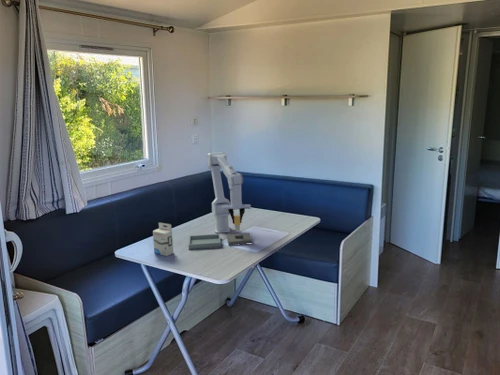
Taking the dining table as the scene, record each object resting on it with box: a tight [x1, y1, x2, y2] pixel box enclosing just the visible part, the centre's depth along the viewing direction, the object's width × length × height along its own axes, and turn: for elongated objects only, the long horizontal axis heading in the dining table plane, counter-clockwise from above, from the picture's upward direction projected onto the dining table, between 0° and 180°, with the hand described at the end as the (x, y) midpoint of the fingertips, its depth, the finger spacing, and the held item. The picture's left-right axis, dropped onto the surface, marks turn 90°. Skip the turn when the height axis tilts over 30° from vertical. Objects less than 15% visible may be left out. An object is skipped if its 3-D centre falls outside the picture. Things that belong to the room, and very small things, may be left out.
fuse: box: [233, 214, 241, 231], centre depth 228 cm, size 4×3×7 cm
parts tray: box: [188, 233, 222, 250], centre depth 227 cm, size 14×16×2 cm
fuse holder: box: [226, 232, 253, 246], centre depth 230 cm, size 12×12×2 cm
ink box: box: [152, 222, 174, 257], centre depth 214 cm, size 8×5×15 cm, turn 60°
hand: (237, 222), depth 228 cm, fingers closed on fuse, 3 cm apart
